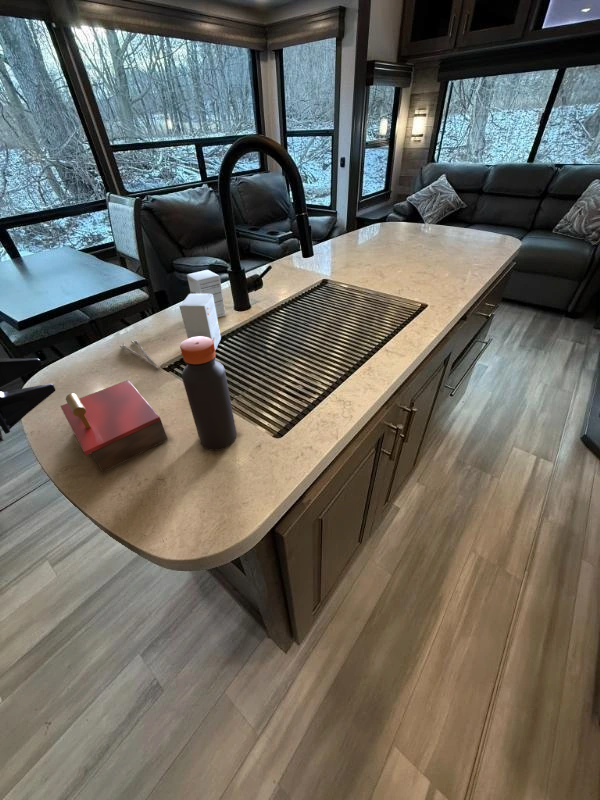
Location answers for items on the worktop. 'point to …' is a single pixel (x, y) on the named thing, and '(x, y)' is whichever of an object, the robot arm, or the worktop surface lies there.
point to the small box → (200, 317)
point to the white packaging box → (208, 288)
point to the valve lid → (107, 415)
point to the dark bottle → (208, 393)
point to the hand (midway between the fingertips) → (47, 373)
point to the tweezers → (139, 354)
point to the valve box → (130, 446)
